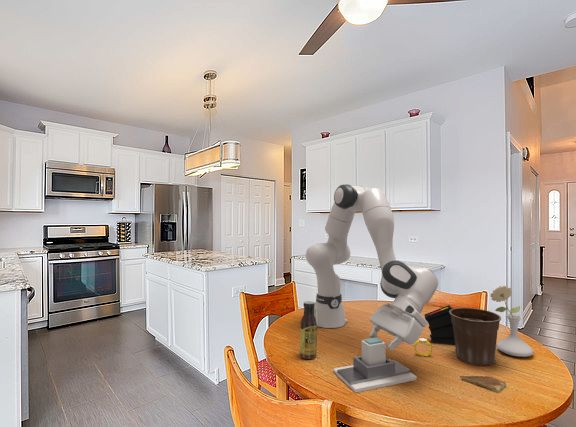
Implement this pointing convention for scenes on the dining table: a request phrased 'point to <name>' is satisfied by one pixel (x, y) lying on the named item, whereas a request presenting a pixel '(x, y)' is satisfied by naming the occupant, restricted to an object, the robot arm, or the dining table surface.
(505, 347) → the flower in vase
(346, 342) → the dining table surface
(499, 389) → the shard
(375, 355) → the module block
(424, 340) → the watch
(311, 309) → the sauce bottle
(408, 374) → the rail holder
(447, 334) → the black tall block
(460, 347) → the plant pot
